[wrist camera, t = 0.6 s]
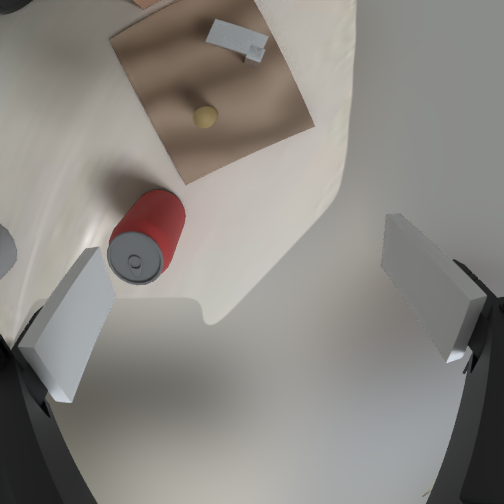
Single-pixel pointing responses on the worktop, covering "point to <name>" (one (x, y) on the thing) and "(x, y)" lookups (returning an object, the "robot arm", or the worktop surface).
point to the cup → (6, 251)
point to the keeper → (238, 41)
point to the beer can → (146, 238)
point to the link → (145, 3)
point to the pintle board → (209, 85)
